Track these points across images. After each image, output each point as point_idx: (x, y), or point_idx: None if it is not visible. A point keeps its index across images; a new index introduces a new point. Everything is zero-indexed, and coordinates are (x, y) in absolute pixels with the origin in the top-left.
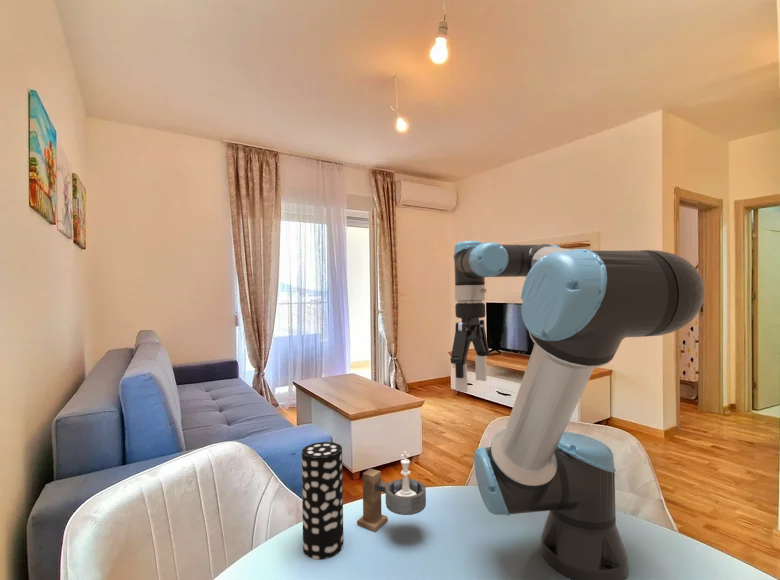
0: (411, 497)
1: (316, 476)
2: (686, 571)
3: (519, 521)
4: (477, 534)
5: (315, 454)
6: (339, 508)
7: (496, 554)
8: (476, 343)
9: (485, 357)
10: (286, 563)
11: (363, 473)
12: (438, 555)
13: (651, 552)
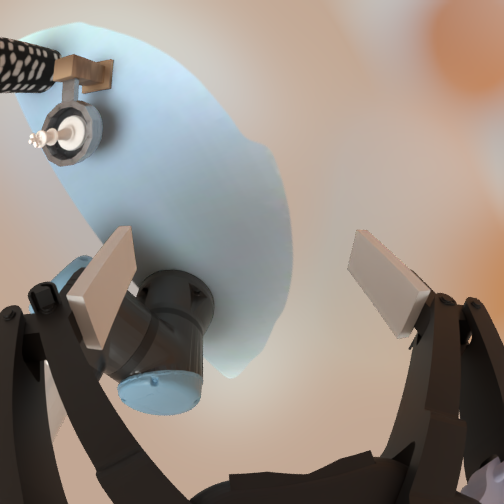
0: (50, 158)
1: None
2: (207, 358)
3: (203, 238)
4: (146, 202)
5: None
6: (15, 90)
7: None
8: (415, 388)
9: (401, 334)
10: None
11: (55, 61)
12: (88, 180)
13: (220, 343)
